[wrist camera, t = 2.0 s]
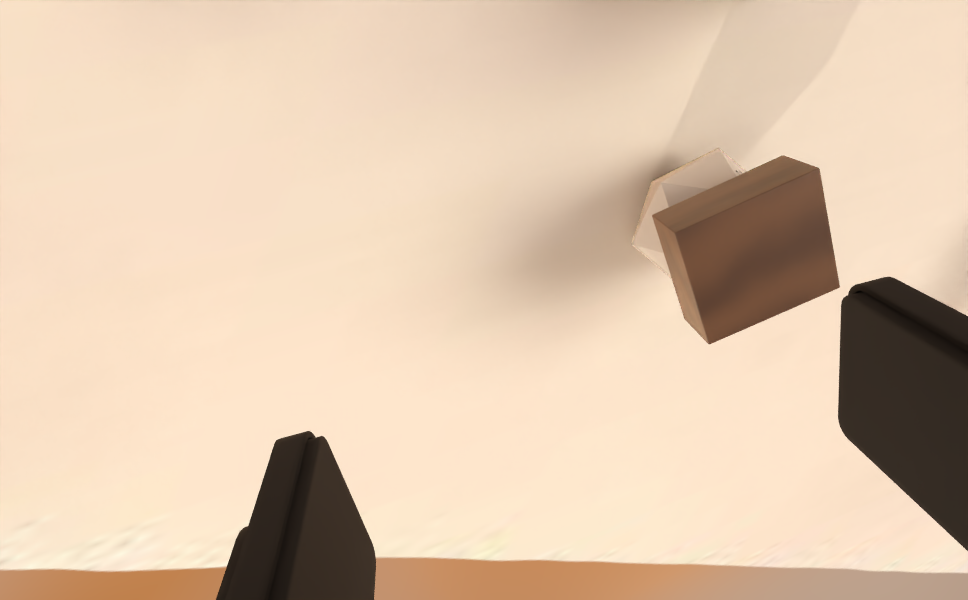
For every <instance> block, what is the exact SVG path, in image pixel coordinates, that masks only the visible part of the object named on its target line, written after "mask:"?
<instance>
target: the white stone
mask: <svg viewBox="0 0 968 600" xmlns="http://www.w3.org/2000/svg"><path fill="white" fill-rule="evenodd" d="M745 172H747V171H745V170H744V169H743V168H742V167H741V166H740V165H738V164H737V163H736V162H735V161H734V160H733V159H731V158H730V157H729V156H728V155H727V154H725V153H724V152H723V151H722V150H721V149H720V148H717V149H715V150H713V151H711V152H709V153H707V154H705V155H703V156H701V157H699V158H697V159H695V160H693V161H691V162H689V163H687V164H685V165H683V166H681V167H679V168H677V169H675V170H673V171H671V172H669V173H667V174H665V175H663V176H661V177H659V178H657V179H655V180H653V181H651V185H650V188H649V191H648V194H647V197H646V200H645V203H644V206H643V209H642V212H641V215H640V219H639V222H638V225H637V228H636V231H635V234H634V237H633V240H632V243H631V244H632V245H633V246H634V247H635V248H636V249H637V250H639V251H640V252H641V253H642V254H643V255H644V256H646V257H647V258H648V259H649V260H650V261H652V262H653V263H654V264H655V265H656V266H657V267H659V268H660V269H661V270H662V271H663V272H664V273H666V274H667V275H668V276H669V277H670V278H671V274H670V271H669V268H668V265H667V262H666V259H665V256H664V252H663V249H662V246H661V243H660V240H659V237H658V234H657V230H656V227H655V224H654V221H653V218H652V215H653V214H655V213H657V212H659V211H662V210H664V209H666V208H668V207H670V206H673V205H675V204H677V203H679V202H681V201H684V200H686V199H688V198H690V197H692V196H695V195H697V194H699V193H701V192H703V191H706V190H708V189H710V188H712V187H714V186H717V185H719V184H721V183H723V182H725V181H728V180H730V179H732V178H734V177H736V176H739V175H741V174H743V173H745Z"/></svg>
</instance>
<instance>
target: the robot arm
mask: <svg viewBox="0 0 968 600" xmlns="http://www.w3.org/2000/svg"><path fill="white" fill-rule="evenodd" d="M838 420H839V424H840V427H841V429H842V431H843V433H844V434H845V436H846V437H847V438H848V439H849V440H850V441H851V442H852V443H853V444H854V445H855V446H856V447H857V448H858V449H859V450H860V451H862V452H863V453H864V454H865V455H866V456H867V457H868V458H869V459H870V460H871V461H872V462H873V463H874V464H875V465H876V466H878V467H879V468H880V469H881V470H882V471H883V472H884V473H885V474H886V475H887V476H888V477H889V478H890V479H891V480H893V481H894V482H895V483H896V484H897V485H898V486H899V487H900V488H901V489H902V490H903V491H904V492H905V493H906V494H907V495H909V496H910V497H911V498H912V499H913V500H914V501H915V502H916V503H917V504H918V505H919V506H920V507H921V508H922V509H923V510H925V511H926V512H927V513H928V514H929V515H930V516H931V517H932V518H933V519H934V520H935V521H936V522H937V523H938V524H939V525H941V526H942V527H943V528H944V529H945V530H946V531H947V532H948V533H949V534H950V535H951V536H952V537H953V538H954V539H955V540H957V541H958V542H959V543H960V544H961V545H962V546H963V547H964V548H965V549H966V550H967V551H968V316H966V315H964V314H962V313H960V312H958V311H957V310H955V309H953V308H951V307H949V306H947V305H945V304H943V303H941V302H939V301H937V300H935V299H933V298H931V297H930V296H928V295H926V294H924V293H922V292H920V291H918V290H916V289H914V288H912V287H910V286H908V285H906V284H904V283H903V282H901V281H899V280H897V279H895V278H892V277H884V278H880V279H876V280H872V281H869V282H865V283H861V284H857V285H854V286H853V287H852V288H851V289H850V291H849V294H848V296H846V297H844V298H843V300H842V304H841V332H840V369H839V405H838ZM375 572H376V558H375V551H374V547H373V544H372V542H371V539H370V537H369V535H368V533H367V530H366V528H365V526H364V523H363V521H362V519H361V517H360V514H359V512H358V510H357V508H356V505H355V503H354V501H353V499H352V496H351V494H350V492H349V489H348V487H347V485H346V483H345V480H344V478H343V476H342V474H341V471H340V469H339V467H338V465H337V462H336V460H335V458H334V455H333V453H332V451H331V449H330V446H329V444H328V442H327V440H326V439H325V437H323V436H320V437H317V438H315V436H314V434H313V433H312V432H310V431H307V432H303V433H299V434H296V435H292V436H288V437H285V438H281V439H278V440H276V442H275V444H274V447H273V450H272V453H271V456H270V460H269V463H268V466H267V469H266V472H265V475H264V479H263V482H262V485H261V488H260V491H259V494H258V497H257V501H256V504H255V507H254V510H253V513H252V516H251V519H250V523H249V526H248V527H245V528H243V529H242V530H241V531H240V532H239V535H238V537H237V539H236V541H235V544H234V547H233V550H232V553H231V556H230V559H229V562H228V565H227V568H226V571H225V574H224V577H223V580H222V583H221V586H220V589H219V592H218V595H217V598H216V600H374V589H375Z"/></svg>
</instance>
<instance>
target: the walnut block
mask: <svg viewBox="0 0 968 600" xmlns="http://www.w3.org/2000/svg"><path fill="white" fill-rule="evenodd" d="M652 218H653V221H654V224H655V227H656V230H657V234H658V237H659V240H660V243H661V246H662V249H663V252H664V256H665V259H666V262H667V265H668V268H669V271H670V274H671V278H672V281H673V284H674V287H675V290H676V293H677V296H678V300H679V303H680V306H681V309H682V312H683V315H684V318H685V320H686V321H687V322H688V323H689V324H690V325H691V326H692V327H693V328H694V329H695V330H696V331H697V333H698V334H699V335H700V336H701V337H702V338H703V339H704V340H705V341H706V342H707V343H708V344H712V343H714V342H716V341H718V340H721V339H723V338H725V337H728V336H730V335H732V334H734V333H737V332H739V331H741V330H744V329H746V328H748V327H750V326H753V325H755V324H757V323H760V322H762V321H764V320H766V319H769V318H771V317H773V316H776V315H778V314H780V313H782V312H785V311H787V310H789V309H792V308H794V307H796V306H798V305H801V304H803V303H805V302H808V301H810V300H812V299H815V298H817V297H819V296H821V295H824V294H826V293H828V292H831V291H833V290H835V289H837V288H839V287H840V285H839V280H838V274H837V268H836V262H835V256H834V251H833V245H832V239H831V233H830V227H829V222H828V216H827V210H826V204H825V198H824V193H823V187H822V181H821V175H820V169H819V168H817V167H815V166H812V165H809V164H806V163H803V162H800V161H798V160H795V159H792V158H789V157H786V156H780V157H778V158H776V159H774V160H772V161H769V162H767V163H765V164H763V165H761V166H758V167H756V168H754V169H752V170H750V171H747V172H745V173H743V174H741V175H739V176H736V177H734V178H732V179H730V180H728V181H725V182H723V183H721V184H719V185H717V186H714V187H712V188H710V189H708V190H706V191H703V192H701V193H699V194H697V195H695V196H692V197H690V198H688V199H686V200H684V201H681V202H679V203H677V204H675V205H673V206H670V207H668V208H666V209H664V210H662V211H659V212H657V213H655V214H653V215H652Z"/></svg>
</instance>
